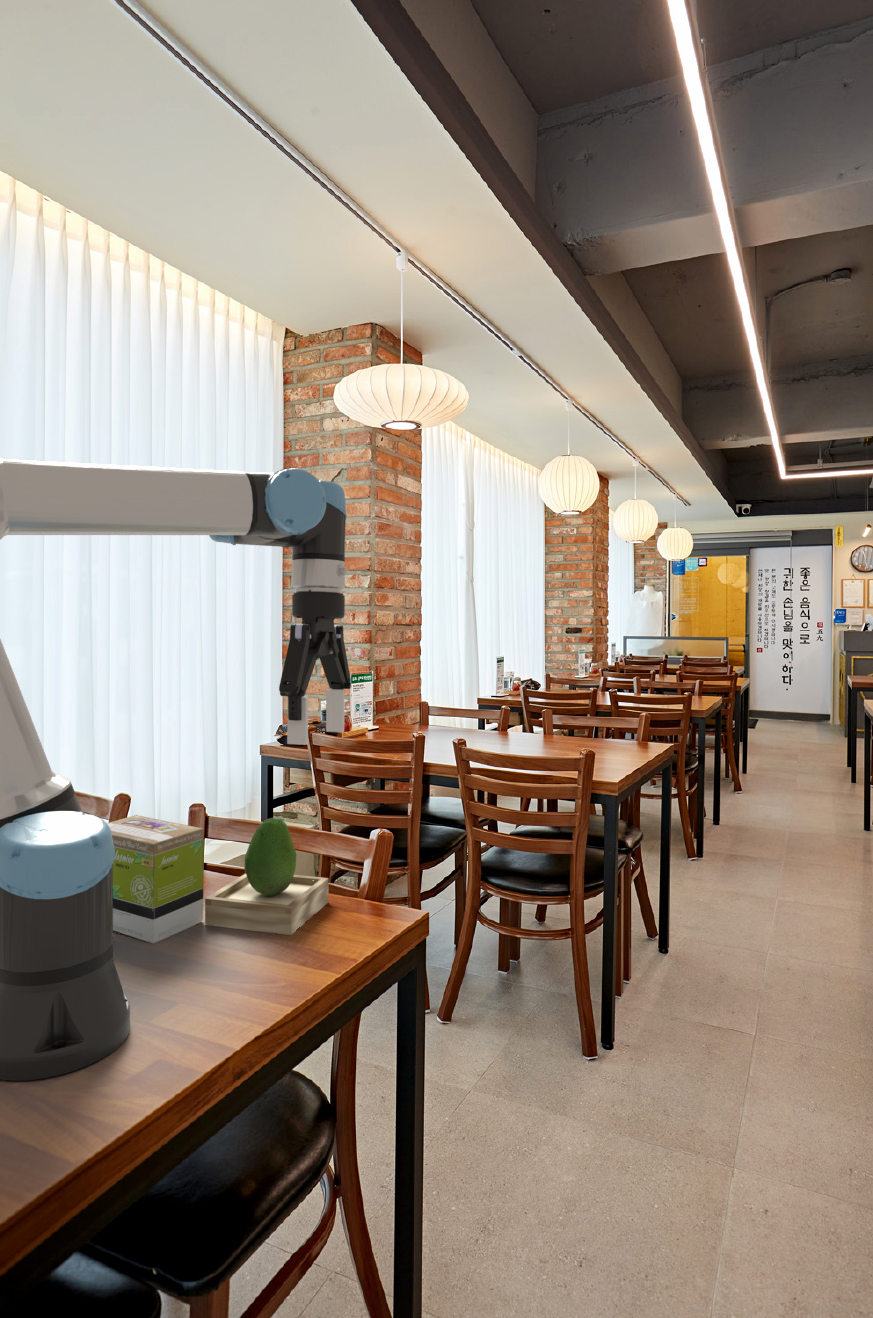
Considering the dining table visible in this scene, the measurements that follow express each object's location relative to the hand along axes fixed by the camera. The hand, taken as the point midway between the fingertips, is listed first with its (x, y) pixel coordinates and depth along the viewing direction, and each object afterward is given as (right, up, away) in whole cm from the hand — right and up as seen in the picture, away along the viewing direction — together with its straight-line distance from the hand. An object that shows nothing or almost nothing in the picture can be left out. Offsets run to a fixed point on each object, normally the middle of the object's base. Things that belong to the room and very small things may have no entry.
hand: (317, 737), depth 110 cm
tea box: (-27, -29, +4) cm, 39 cm away
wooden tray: (-9, -28, +8) cm, 31 cm away
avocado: (-9, -26, +8) cm, 28 cm away
